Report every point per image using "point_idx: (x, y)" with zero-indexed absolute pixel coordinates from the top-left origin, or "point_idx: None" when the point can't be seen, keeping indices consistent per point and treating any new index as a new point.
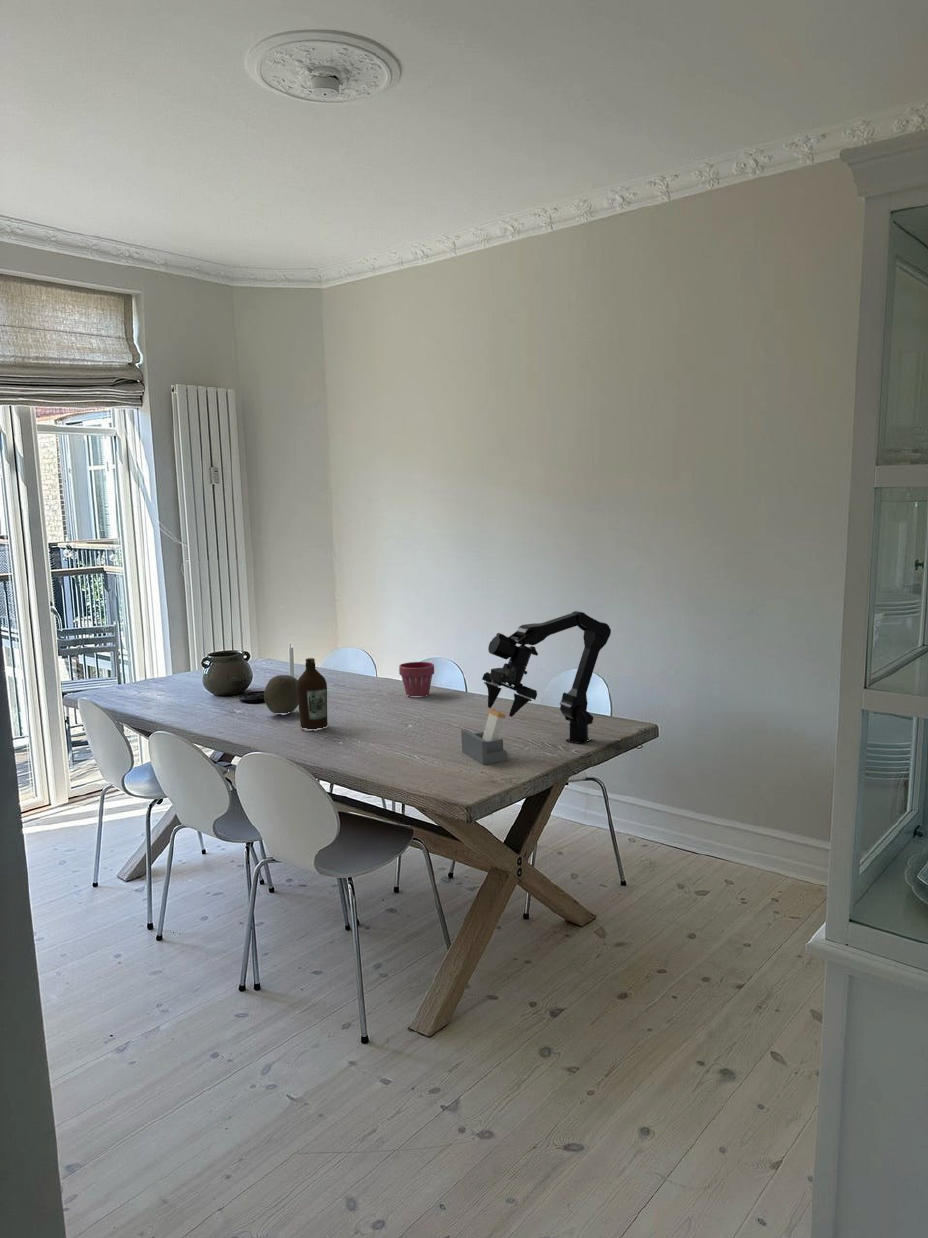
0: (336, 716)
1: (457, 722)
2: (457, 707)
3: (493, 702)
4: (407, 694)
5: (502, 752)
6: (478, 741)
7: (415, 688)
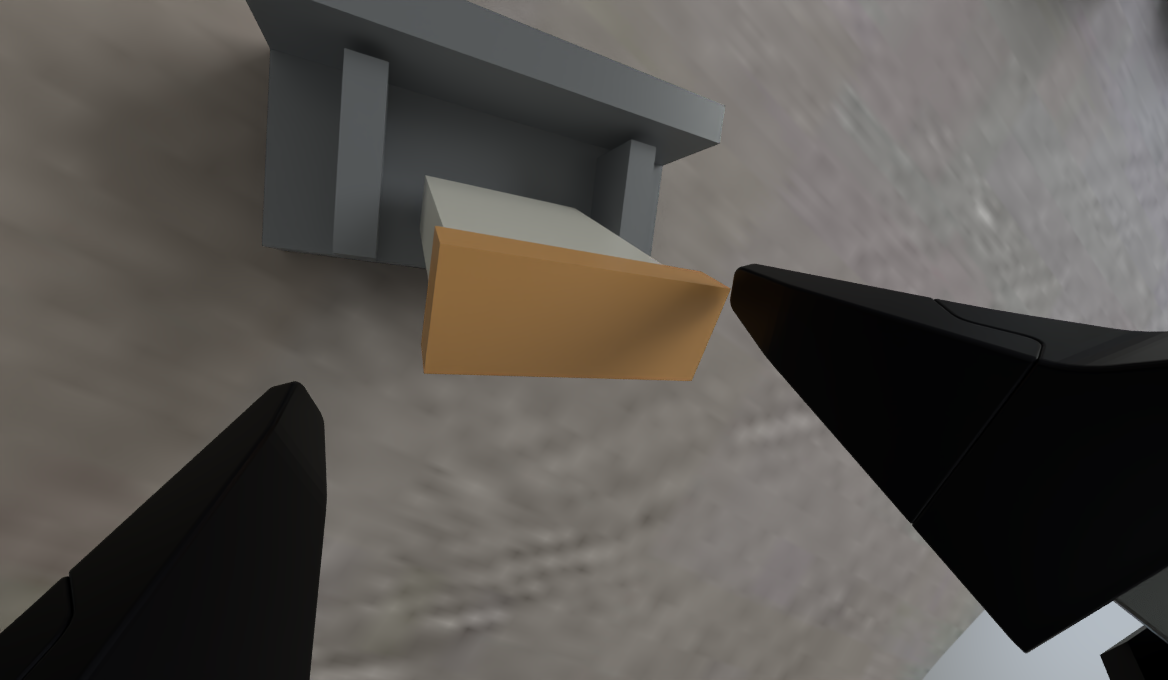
0: (1132, 91)
1: None
2: None
3: (786, 364)
4: None
5: (266, 205)
6: None
7: None
